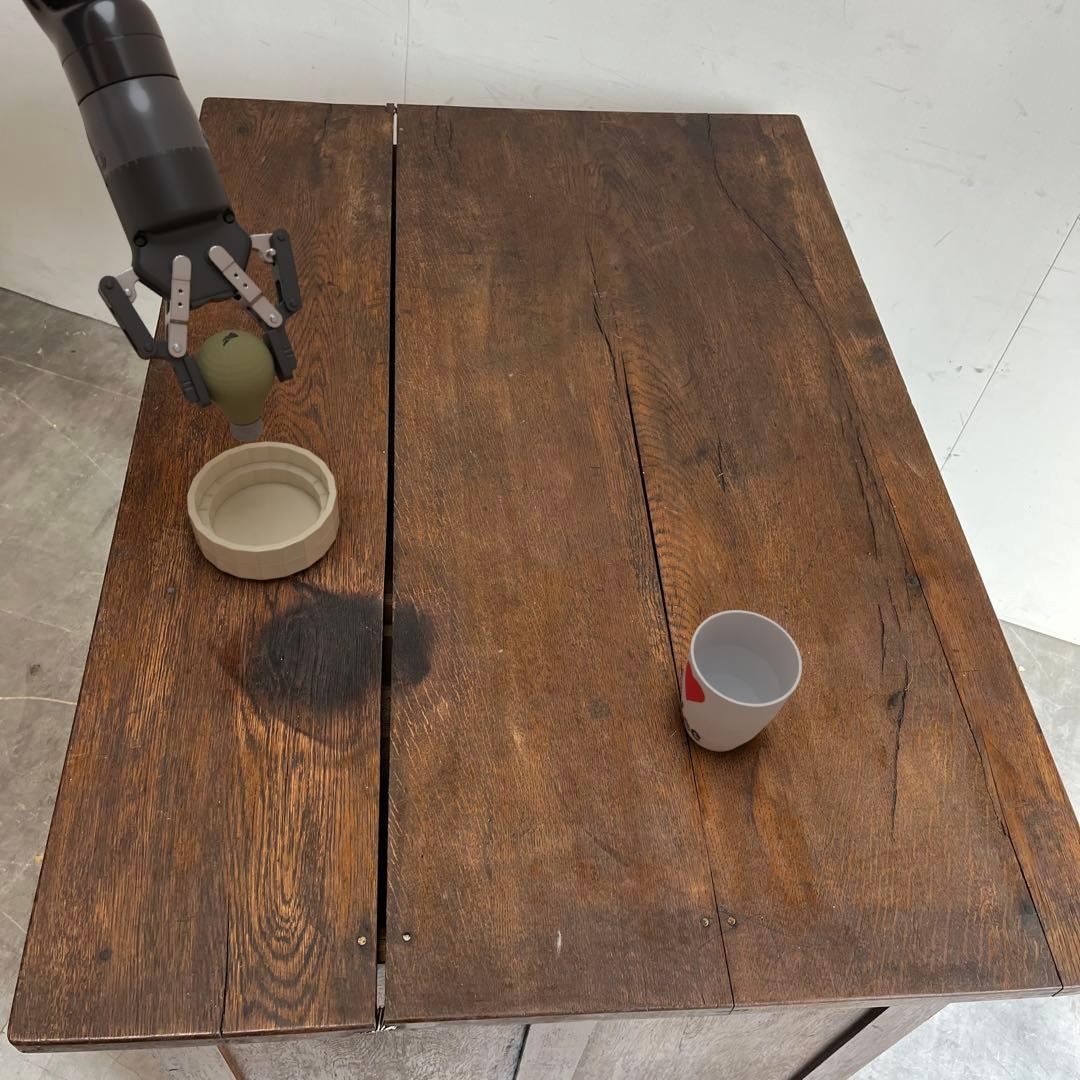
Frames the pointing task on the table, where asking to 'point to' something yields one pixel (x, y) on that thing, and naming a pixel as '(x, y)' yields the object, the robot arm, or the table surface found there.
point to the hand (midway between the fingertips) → (246, 393)
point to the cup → (736, 678)
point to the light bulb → (237, 379)
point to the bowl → (264, 510)
